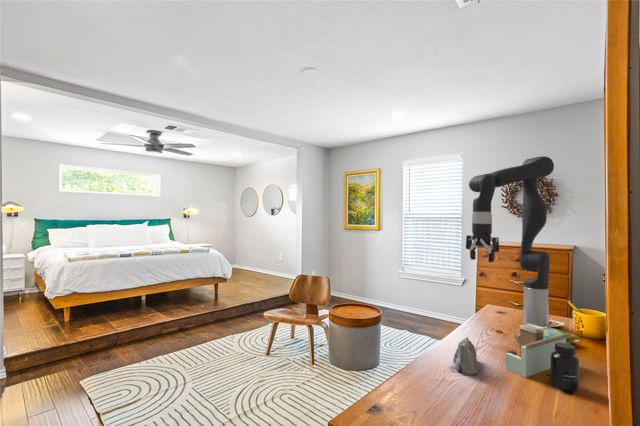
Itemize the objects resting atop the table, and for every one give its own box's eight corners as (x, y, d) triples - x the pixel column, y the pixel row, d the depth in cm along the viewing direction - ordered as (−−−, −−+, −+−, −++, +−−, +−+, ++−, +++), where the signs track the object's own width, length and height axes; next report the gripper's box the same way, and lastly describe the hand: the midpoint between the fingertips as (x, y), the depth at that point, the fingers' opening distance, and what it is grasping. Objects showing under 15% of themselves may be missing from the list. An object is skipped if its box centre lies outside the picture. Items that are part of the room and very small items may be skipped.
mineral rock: (466, 356, 119) (467, 328, 119) (496, 369, 109) (496, 338, 109) (441, 364, 112) (441, 334, 112) (470, 378, 103) (470, 346, 103)
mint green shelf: (540, 354, 121) (541, 325, 121) (568, 364, 113) (568, 333, 113) (501, 366, 111) (501, 335, 111) (528, 378, 103) (528, 345, 103)
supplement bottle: (571, 394, 94) (571, 351, 94) (545, 383, 100) (545, 343, 100) (584, 389, 97) (584, 347, 97) (558, 378, 103) (558, 339, 103)
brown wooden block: (528, 358, 116) (528, 323, 116) (543, 364, 112) (543, 328, 112) (519, 361, 114) (519, 325, 114) (535, 367, 110) (535, 330, 109)
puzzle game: (514, 331, 131) (546, 324, 140) (514, 343, 131) (545, 335, 140) (545, 342, 120) (577, 333, 129) (545, 355, 120) (577, 346, 129)
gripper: (503, 223, 138) (503, 262, 138) (473, 221, 151) (473, 258, 151) (491, 223, 135) (491, 263, 135) (461, 222, 148) (461, 259, 148)
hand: (481, 260), depth 143 cm, fingers open, 8 cm apart
